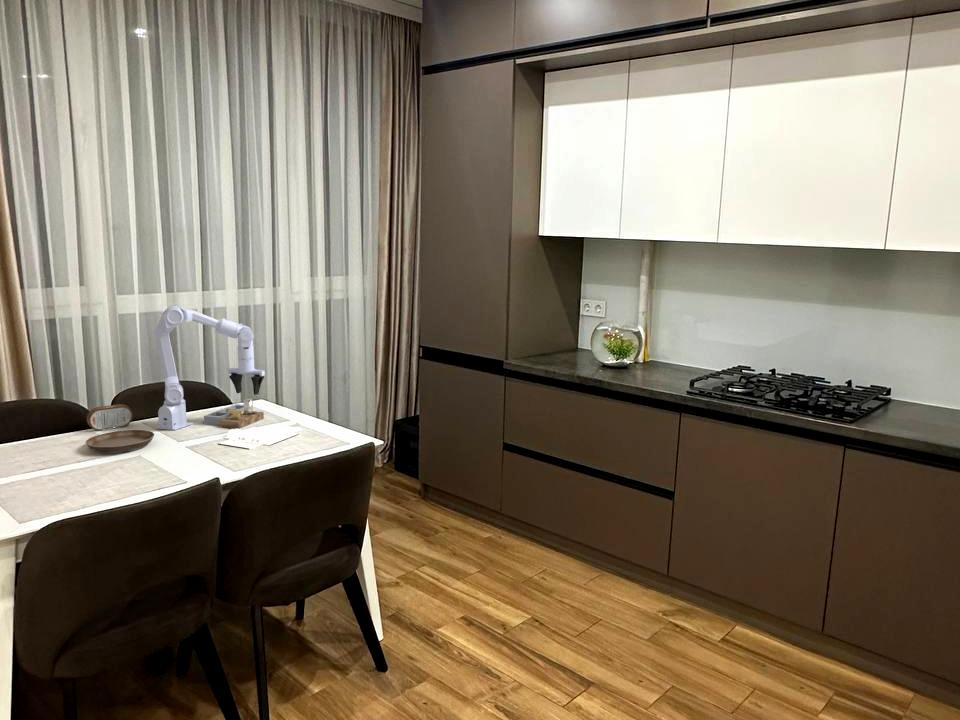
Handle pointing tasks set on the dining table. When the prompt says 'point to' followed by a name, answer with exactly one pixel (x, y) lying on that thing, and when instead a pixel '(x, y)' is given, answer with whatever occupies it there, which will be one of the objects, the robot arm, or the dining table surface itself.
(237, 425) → the drill block
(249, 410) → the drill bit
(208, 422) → the rack
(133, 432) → the plant saucer
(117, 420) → the tin
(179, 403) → the robot arm
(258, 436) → the white book
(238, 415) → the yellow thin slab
